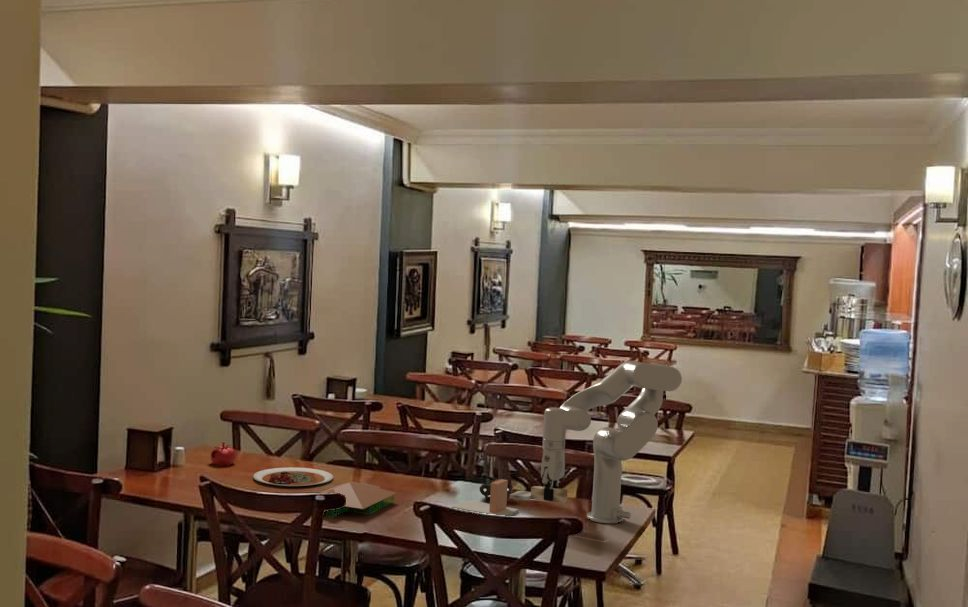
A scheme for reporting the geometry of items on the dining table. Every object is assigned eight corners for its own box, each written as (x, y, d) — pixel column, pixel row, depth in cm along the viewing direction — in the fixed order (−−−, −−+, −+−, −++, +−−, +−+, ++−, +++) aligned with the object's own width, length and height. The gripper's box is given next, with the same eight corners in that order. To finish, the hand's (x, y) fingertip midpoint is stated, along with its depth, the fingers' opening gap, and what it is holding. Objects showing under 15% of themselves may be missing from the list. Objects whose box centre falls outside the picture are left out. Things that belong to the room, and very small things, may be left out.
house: (399, 500, 330) (400, 477, 330) (356, 521, 299) (357, 497, 299) (343, 492, 338) (344, 470, 337) (295, 512, 307) (296, 487, 306)
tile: (506, 508, 321) (507, 480, 320) (495, 513, 314) (497, 484, 313) (499, 507, 322) (501, 479, 322) (489, 511, 315) (490, 483, 315)
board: (518, 512, 321) (518, 509, 321) (502, 519, 310) (502, 516, 310) (468, 502, 330) (468, 499, 330) (451, 509, 320) (451, 506, 319)
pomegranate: (237, 462, 376) (239, 440, 375) (232, 467, 366) (233, 444, 365) (213, 461, 375) (214, 439, 375) (207, 466, 365) (208, 443, 365)
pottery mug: (501, 495, 344) (510, 479, 341) (507, 512, 336) (517, 495, 333) (472, 490, 339) (481, 473, 336) (479, 507, 331) (488, 490, 328)
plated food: (341, 475, 366) (341, 467, 366) (320, 492, 336) (321, 483, 336) (268, 469, 369) (268, 461, 368) (241, 486, 339) (241, 477, 339)
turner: (569, 500, 309) (569, 488, 309) (561, 504, 303) (561, 492, 303) (518, 494, 318) (518, 482, 318) (509, 498, 312) (509, 486, 312)
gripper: (554, 449, 299) (551, 505, 300) (573, 443, 313) (570, 496, 314) (533, 446, 302) (530, 502, 303) (553, 440, 317) (550, 493, 317)
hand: (550, 498), depth 309 cm, fingers closed on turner, 3 cm apart
